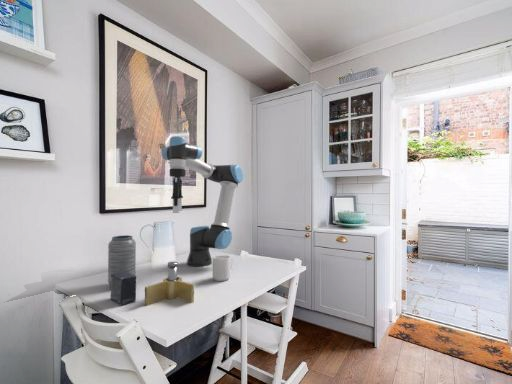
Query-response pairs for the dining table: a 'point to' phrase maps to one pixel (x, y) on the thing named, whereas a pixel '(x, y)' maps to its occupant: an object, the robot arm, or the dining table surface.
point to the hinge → (169, 291)
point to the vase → (121, 255)
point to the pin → (172, 271)
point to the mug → (222, 267)
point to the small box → (123, 288)
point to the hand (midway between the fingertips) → (177, 211)
